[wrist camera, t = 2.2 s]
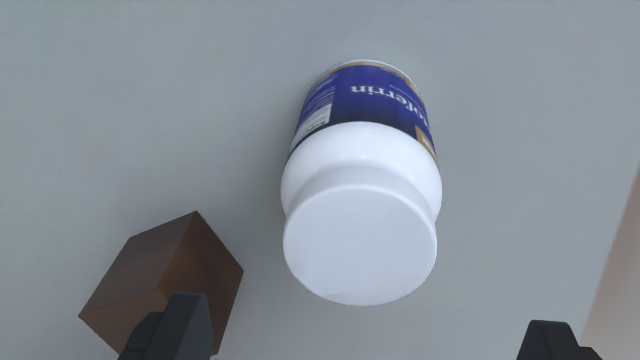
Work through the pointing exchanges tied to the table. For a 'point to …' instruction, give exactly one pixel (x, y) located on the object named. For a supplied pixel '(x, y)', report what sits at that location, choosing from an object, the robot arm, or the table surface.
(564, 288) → the table surface
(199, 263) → the walnut block
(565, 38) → the table surface
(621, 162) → the table surface
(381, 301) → the pill bottle
